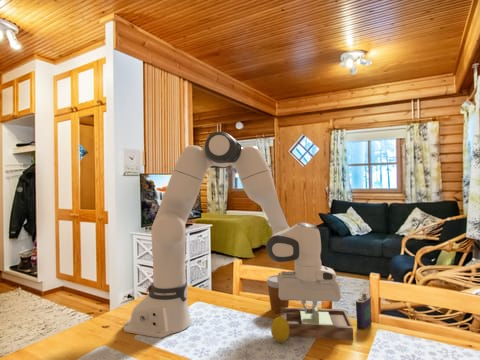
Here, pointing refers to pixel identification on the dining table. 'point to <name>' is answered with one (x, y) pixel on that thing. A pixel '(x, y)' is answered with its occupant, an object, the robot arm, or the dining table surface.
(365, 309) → the flask
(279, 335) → the lemon
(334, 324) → the wooden tray
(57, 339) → the dining table surface
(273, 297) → the disposable coffee cup
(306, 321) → the cover
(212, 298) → the dining table surface
